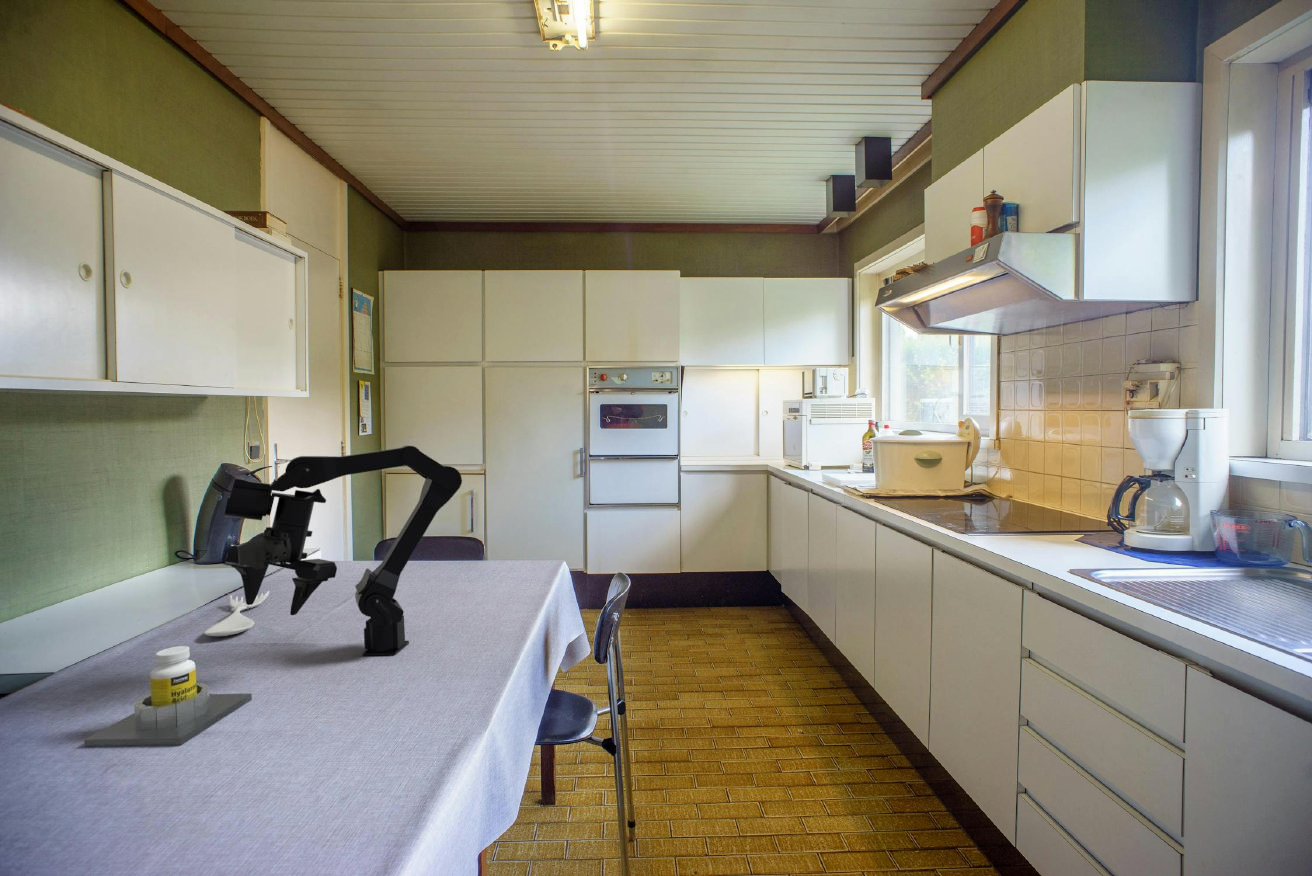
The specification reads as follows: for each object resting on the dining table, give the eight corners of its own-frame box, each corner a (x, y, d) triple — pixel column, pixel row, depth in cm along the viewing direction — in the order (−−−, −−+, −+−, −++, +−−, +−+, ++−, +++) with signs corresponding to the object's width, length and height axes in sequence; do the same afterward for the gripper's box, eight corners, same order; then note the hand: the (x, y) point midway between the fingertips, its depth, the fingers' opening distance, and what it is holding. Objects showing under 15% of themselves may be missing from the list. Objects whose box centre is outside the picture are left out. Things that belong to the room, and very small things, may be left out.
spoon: (271, 601, 158) (270, 588, 158) (250, 638, 129) (249, 622, 129) (229, 607, 154) (229, 593, 154) (198, 646, 125) (197, 630, 125)
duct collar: (251, 699, 98) (250, 675, 98) (180, 745, 84) (179, 717, 84) (168, 700, 99) (167, 676, 99) (84, 746, 85) (83, 718, 85)
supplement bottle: (173, 724, 89) (169, 658, 88) (142, 722, 90) (139, 656, 89) (206, 706, 94) (203, 644, 94) (177, 705, 95) (174, 643, 95)
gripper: (209, 514, 104) (187, 605, 103) (302, 533, 101) (281, 628, 99) (261, 515, 115) (241, 597, 113) (347, 532, 112) (328, 617, 110)
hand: (271, 609), depth 109 cm, fingers open, 9 cm apart
